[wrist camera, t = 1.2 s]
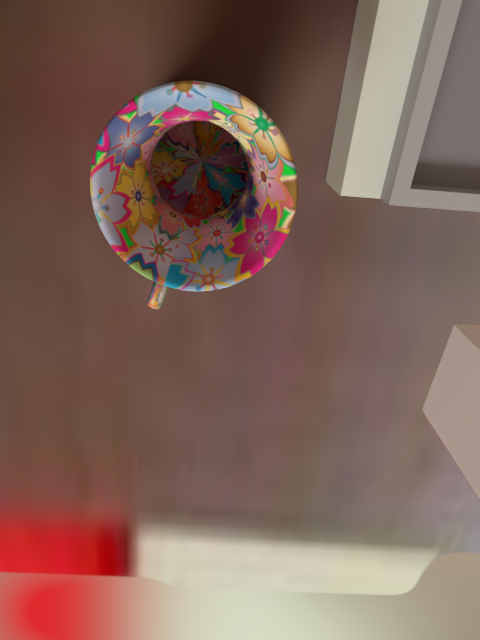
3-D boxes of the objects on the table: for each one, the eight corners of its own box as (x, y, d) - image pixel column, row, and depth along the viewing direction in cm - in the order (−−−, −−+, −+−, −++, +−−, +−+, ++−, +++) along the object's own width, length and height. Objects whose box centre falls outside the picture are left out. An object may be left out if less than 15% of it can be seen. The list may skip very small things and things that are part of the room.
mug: (156, 50, 25) (121, 36, 16) (295, 118, 27) (336, 140, 18) (104, 232, 30) (56, 300, 21) (224, 277, 33) (228, 356, 23)
